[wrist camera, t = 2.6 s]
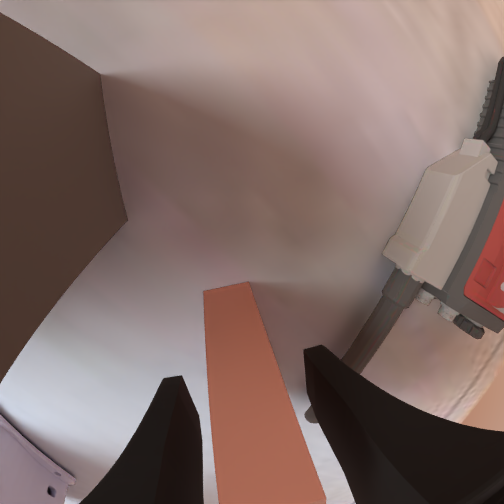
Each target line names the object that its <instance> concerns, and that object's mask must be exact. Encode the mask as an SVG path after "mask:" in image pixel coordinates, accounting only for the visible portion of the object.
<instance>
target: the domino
mask: <svg viewBox="0 0 504 504" xmlns="http://www.w3.org/2000/svg"><path fill="white" fill-rule="evenodd" d="M126 221H127V216H126V212H125V208H124V204H123V200H122V195H121V191H120V187H119V182H118V178H117V173H116V169H115V164H114V159H113V154H112V149H111V143H110V138H109V132H108V127H107V121H106V115H105V108H104V101H103V94H102V87H101V79H100V74H99V73H98V72H96V71H95V70H93V69H92V68H90V67H89V66H87V65H86V64H84V63H83V62H81V61H80V60H78V59H76V58H75V57H73V56H72V55H70V54H69V53H67V52H66V51H64V50H62V49H61V48H59V47H58V46H56V45H54V44H53V43H51V42H49V41H48V40H46V39H45V38H43V37H41V36H40V35H38V34H36V33H35V32H33V31H31V30H30V29H28V28H26V27H24V26H23V25H21V24H19V23H18V22H16V21H14V20H12V19H11V18H9V17H7V16H5V15H3V14H2V13H0V383H1V381H2V380H3V378H4V377H5V375H6V373H7V372H8V370H9V369H10V367H11V366H12V364H13V363H14V361H15V360H16V358H17V357H18V355H19V354H20V352H21V351H22V349H23V348H24V346H25V345H26V343H27V342H28V341H29V339H30V338H31V336H32V335H33V334H34V332H35V331H36V329H37V328H38V327H39V325H40V324H41V323H42V321H43V320H44V318H45V317H46V316H47V314H48V313H49V312H50V311H51V309H52V308H53V307H54V305H55V304H56V303H57V301H58V300H59V299H60V298H61V296H62V295H63V294H64V293H65V291H66V290H67V289H68V288H69V286H70V285H71V284H72V283H73V281H74V280H75V279H76V278H77V277H78V275H79V274H80V273H81V272H82V271H83V269H84V268H85V267H86V266H87V265H88V264H89V262H90V261H91V260H92V259H93V258H94V257H95V255H96V254H97V253H98V252H99V251H100V250H101V249H102V248H103V246H104V245H105V244H106V243H107V242H108V241H109V240H110V239H111V238H112V236H113V235H114V234H115V233H116V232H117V231H118V230H119V229H120V228H121V227H122V226H123V225H124V224H125V222H126Z"/></svg>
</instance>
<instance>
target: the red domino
mask: <svg viewBox="0 0 504 504" xmlns="http://www.w3.org/2000/svg"><path fill="white" fill-rule="evenodd" d="M203 294H204V322H205V344H206V362H207V379H208V394H209V407H210V420H211V432H212V443H213V453H214V463H215V473H216V482H217V491H218V499H219V504H326V496H325V493H324V491H323V488H322V485H321V483H320V480H319V477H318V475H317V472H316V469H315V466H314V464H313V461H312V458H311V456H310V453H309V450H308V448H307V445H306V442H305V439H304V437H303V434H302V431H301V428H300V426H299V423H298V420H297V417H296V415H295V412H294V409H293V406H292V404H291V401H290V398H289V395H288V392H287V390H286V387H285V384H284V381H283V378H282V376H281V373H280V370H279V367H278V364H277V362H276V359H275V356H274V353H273V350H272V347H271V345H270V342H269V339H268V336H267V333H266V330H265V328H264V325H263V322H262V319H261V316H260V313H259V310H258V308H257V305H256V302H255V299H254V296H253V293H252V290H251V287H250V285H249V282H245V283H240V284H235V285H231V286H226V287H221V288H216V289H211V290H207V291H203Z"/></svg>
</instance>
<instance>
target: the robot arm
mask: <svg viewBox="0 0 504 504" xmlns="http://www.w3.org/2000/svg"><path fill="white" fill-rule="evenodd" d="M303 351H304V363H305V374H306V387H307V394H308V397H309V400H310V402H311V405H312V408H313V411H314V414H315V416H316V419H317V421H318V423H319V425H320V427H321V429H322V431H323V432H324V434H325V436H326V438H327V440H328V442H329V444H330V446H331V448H332V450H333V452H334V454H335V456H336V458H337V460H338V461H339V463H340V465H341V467H342V470H343V472H344V474H345V476H346V479H347V481H348V484H349V487H350V489H351V492H352V494H353V497H354V500H355V503H356V504H504V432H502V431H494V430H486V429H480V428H476V427H471V426H467V425H462V424H459V423H456V422H452V421H449V420H446V419H443V418H440V417H437V416H435V415H432V414H429V413H427V412H424V411H422V410H420V409H417V408H415V407H413V406H411V405H409V404H407V403H405V402H403V401H401V400H399V399H397V398H396V397H394V396H392V395H390V394H389V393H387V392H385V391H384V390H382V389H380V388H379V387H377V386H376V385H374V384H373V383H371V382H370V381H368V380H367V379H365V378H364V377H363V376H361V375H360V374H358V373H357V372H356V371H354V370H353V369H352V368H350V367H349V366H348V365H346V364H345V363H344V362H343V361H341V360H340V359H339V358H338V357H336V356H335V355H334V354H333V353H332V352H330V351H329V350H328V349H327V348H326V347H325V346H323V345H318V346H315V347H311V348H308V349H304V350H303ZM75 482H76V479H75V478H74V477H73V476H71V475H70V474H69V473H67V472H66V471H64V470H63V469H62V468H60V467H59V466H58V465H57V464H55V463H54V462H53V461H51V460H50V459H49V458H48V457H46V456H45V455H44V454H43V453H41V452H40V451H39V450H38V449H37V448H36V447H34V446H33V445H32V444H31V443H30V442H29V441H28V440H26V439H25V438H24V437H23V436H22V435H21V434H20V433H19V432H18V431H17V430H16V429H14V428H13V427H12V426H11V425H10V424H9V423H8V422H7V421H6V420H5V419H4V418H3V417H2V416H1V415H0V504H64V502H65V497H66V492H67V488H68V485H74V484H75ZM79 504H204V501H203V454H202V435H201V427H200V419H199V414H198V412H197V410H196V407H195V405H194V403H193V401H192V398H191V396H190V394H189V391H188V389H187V387H186V384H185V382H184V379H183V377H182V375H181V376H175V377H168V378H164V379H163V380H162V382H161V384H160V386H159V388H158V390H157V392H156V394H155V396H154V398H153V400H152V402H151V404H150V406H149V408H148V410H147V412H146V414H145V415H144V417H143V419H142V421H141V423H140V425H139V426H138V428H137V430H136V432H135V433H134V435H133V437H132V438H131V440H130V441H129V443H128V445H127V446H126V448H125V449H124V451H123V452H122V454H121V455H120V457H119V458H118V460H117V461H116V462H115V464H114V465H113V466H112V468H111V469H110V470H109V472H108V473H107V474H106V475H105V477H104V478H103V479H102V480H101V481H100V482H99V484H98V485H97V486H96V487H95V488H94V489H93V490H92V491H91V492H90V494H89V495H88V496H87V497H86V498H85V499H83V500H82V501H81V502H80V503H79Z"/></svg>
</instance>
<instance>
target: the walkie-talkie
mask: <svg viewBox="0 0 504 504" xmlns="http://www.w3.org/2000/svg"><path fill="white" fill-rule="evenodd" d="M489 83H490V86H489V88H487V91H488V94H487V96H485V99H486V101H485V104H483V112H482V113H481V114H480V117H481V118H480V122H478V124H477V126H478V128H477V131H475V133H474V137H473V139H466V138H465V139H464V142H463V144H462V147H461V149H459V150H457V151H455V152H453V153H452V154H450V155H448V156H447V157H445V158H443V159H441V160H440V161H438V162H436V163H434V164H433V165H431V166H429V167H428V168H427V169H426V171H425V173H424V175H423V178H422V180H421V182H420V184H419V187H418V189H417V191H416V193H415V195H414V197H413V200H412V202H411V204H410V206H409V208H408V210H407V212H406V214H405V216H404V218H403V220H402V222H401V224H400V226H399V228H398V230H397V232H396V234H395V235H394V236H392V237H391V238H390V239H389V241H388V243H387V245H386V247H385V249H384V251H383V253H382V254H383V255H384V256H386V257H387V258H388V259H390V260H391V261H393V262H394V263H396V267H395V269H394V271H393V272H392V274H391V276H390V278H389V280H388V281H387V283H386V285H385V287H384V288H383V290H382V293H383V296H382V298H381V299H380V301H379V303H378V304H377V306H376V308H375V309H374V311H373V313H372V314H371V316H370V317H369V319H368V321H367V322H366V324H365V325H364V327H363V328H362V330H361V331H360V333H359V335H358V336H357V338H356V339H355V341H354V342H353V344H352V345H351V347H350V348H349V350H348V351H347V352H346V354H345V355H344V357H343V358H342V360H341V361H343V362H344V363H345V364H346V365H348V366H349V367H350V368H352V369H353V370H354V371H356V372H357V373H358V374H360V373H361V372H362V370H363V369H364V368H365V366H366V365H367V364H368V362H369V361H370V359H371V358H372V357H373V355H374V354H375V352H376V351H377V349H378V348H379V346H380V345H381V343H382V342H383V340H384V339H385V337H386V336H387V334H388V333H389V331H390V330H391V328H392V327H393V325H394V324H395V322H396V320H397V319H398V317H399V316H400V314H401V312H402V311H403V309H405V308H409V306H410V305H411V303H412V302H413V300H414V298H416V299H417V300H419V301H420V302H421V303H423V304H425V305H427V306H428V305H429V304H430V302H431V300H432V299H436V298H437V299H439V300H440V301H441V302H440V304H442V305H441V307H440V309H439V311H438V314H439V315H441V316H442V317H443V318H445V319H446V320H448V321H450V322H452V321H453V323H454V324H456V325H457V326H458V327H459V328H460V329H462V330H463V331H465V332H466V333H468V334H469V335H471V336H472V337H474V338H476V339H481V338H482V336H483V335H484V333H485V332H484V329H483V328H482V327H483V326H485V327H486V328H488V329H490V330H492V331H494V332H496V333H499V332H500V331H501V330H502V329H503V328H504V57H502V58H501V60H500V61H499V63H498V68H497V73H496V77H495V80H493V81H489ZM304 415H305V418H306V420H307V421H309V422H310V423H318V421H317V419H316V416H315V414H314V411H313V408H312V405H311V406H310V407H309V409H308V410H307V411H306V412H305V414H304Z"/></svg>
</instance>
